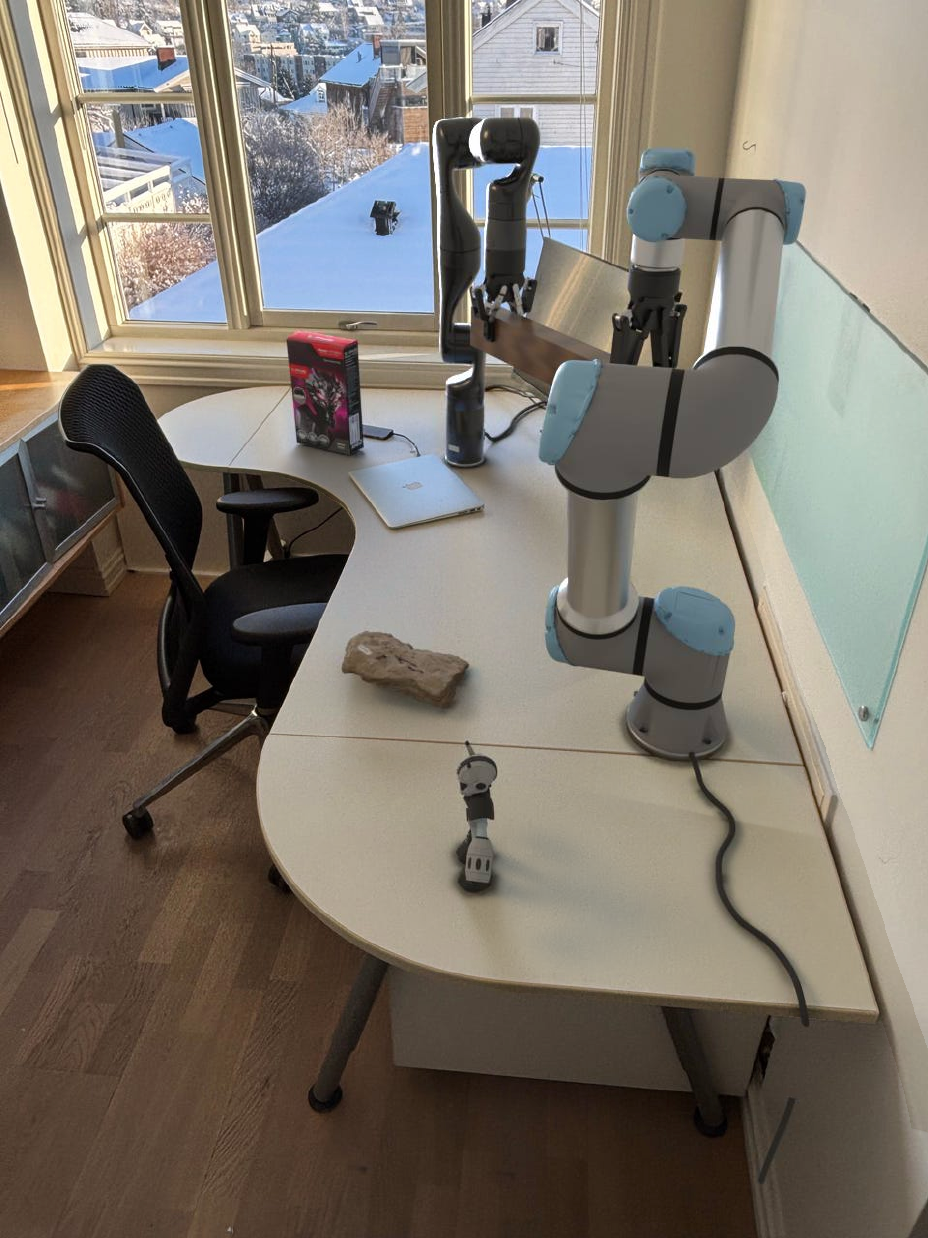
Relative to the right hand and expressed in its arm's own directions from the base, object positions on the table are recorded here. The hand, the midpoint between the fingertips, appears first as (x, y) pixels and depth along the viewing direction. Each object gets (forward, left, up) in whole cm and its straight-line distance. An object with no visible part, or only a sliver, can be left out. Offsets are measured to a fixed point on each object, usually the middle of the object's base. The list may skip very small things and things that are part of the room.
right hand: (637, 416), depth 148 cm
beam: (+13, +14, -1) cm, 20 cm away
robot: (-64, +10, -39) cm, 76 cm away
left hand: (+26, +29, +2) cm, 39 cm away
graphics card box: (+58, +80, -39) cm, 106 cm away
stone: (-29, +32, -39) cm, 58 cm away
